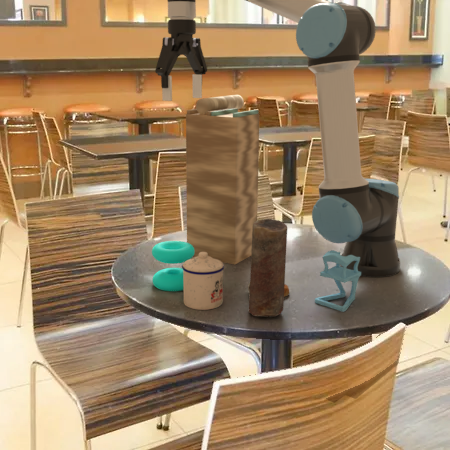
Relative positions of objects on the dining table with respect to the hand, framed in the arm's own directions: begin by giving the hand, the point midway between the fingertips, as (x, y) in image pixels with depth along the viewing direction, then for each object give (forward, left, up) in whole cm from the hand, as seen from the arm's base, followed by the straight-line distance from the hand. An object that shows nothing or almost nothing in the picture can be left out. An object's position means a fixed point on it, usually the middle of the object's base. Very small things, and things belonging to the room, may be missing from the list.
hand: (182, 99), depth 181 cm
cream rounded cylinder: (-11, -6, -3) cm, 13 cm away
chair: (-60, -9, -41) cm, 73 cm away
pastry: (-49, +3, -41) cm, 64 cm away
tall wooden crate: (-17, -3, -41) cm, 44 cm away
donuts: (-33, +19, -41) cm, 56 cm away
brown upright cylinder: (-58, +9, -41) cm, 72 cm away
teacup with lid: (-45, +17, -41) cm, 63 cm away
